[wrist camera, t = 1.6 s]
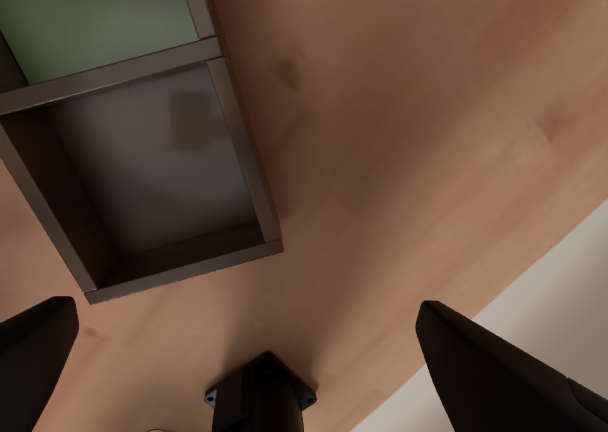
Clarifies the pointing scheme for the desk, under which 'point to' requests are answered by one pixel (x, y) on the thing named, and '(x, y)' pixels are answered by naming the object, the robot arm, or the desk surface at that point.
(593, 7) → the desk surface
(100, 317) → the desk surface
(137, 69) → the caddy
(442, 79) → the desk surface
